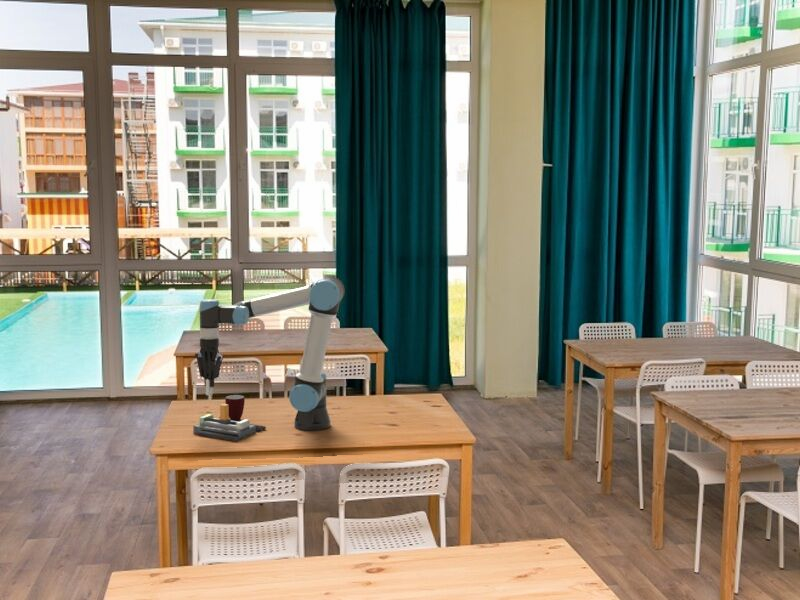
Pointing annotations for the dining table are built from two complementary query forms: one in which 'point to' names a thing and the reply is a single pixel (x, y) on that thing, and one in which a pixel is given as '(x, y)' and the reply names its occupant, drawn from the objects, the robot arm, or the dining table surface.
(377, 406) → the dining table surface
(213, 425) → the gray slotted base
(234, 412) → the mug
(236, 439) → the cord
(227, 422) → the lever
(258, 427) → the grey rod
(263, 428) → the cord
